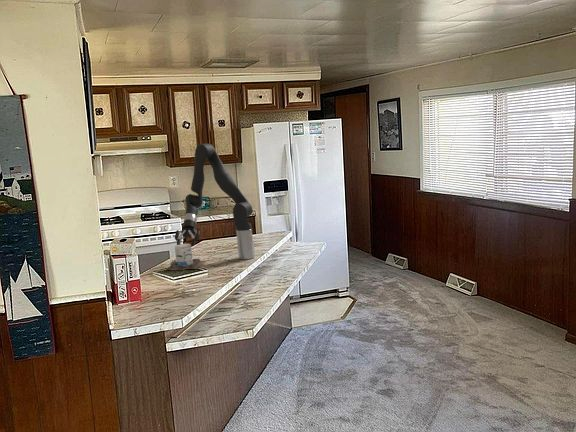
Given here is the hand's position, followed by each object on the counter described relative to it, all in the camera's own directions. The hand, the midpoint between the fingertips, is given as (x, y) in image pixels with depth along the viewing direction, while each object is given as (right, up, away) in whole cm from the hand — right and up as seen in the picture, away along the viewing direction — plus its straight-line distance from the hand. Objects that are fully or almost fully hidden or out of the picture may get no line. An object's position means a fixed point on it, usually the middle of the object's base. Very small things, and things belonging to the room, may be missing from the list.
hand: (185, 245), depth 304 cm
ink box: (0, -11, 0) cm, 11 cm away
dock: (0, -12, -1) cm, 12 cm away
